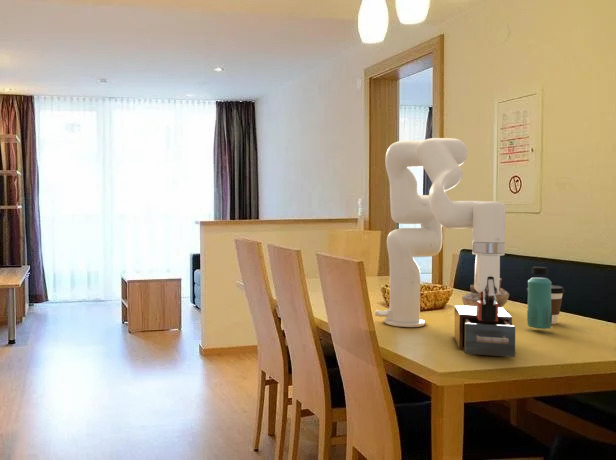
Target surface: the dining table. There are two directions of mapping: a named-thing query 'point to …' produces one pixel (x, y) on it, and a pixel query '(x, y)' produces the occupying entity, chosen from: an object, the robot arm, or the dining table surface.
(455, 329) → the cabinet
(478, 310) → the block
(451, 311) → the dining table surface
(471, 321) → the drawer
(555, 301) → the coffee cup
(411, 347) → the dining table surface
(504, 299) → the pottery
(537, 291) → the beverage bottle
